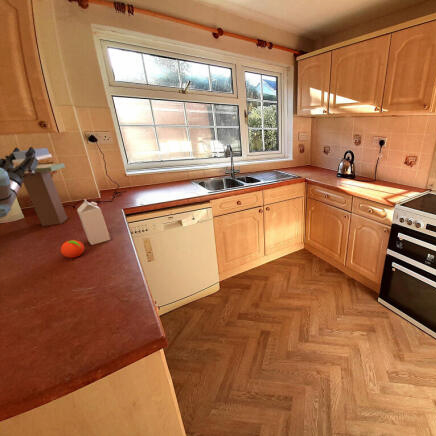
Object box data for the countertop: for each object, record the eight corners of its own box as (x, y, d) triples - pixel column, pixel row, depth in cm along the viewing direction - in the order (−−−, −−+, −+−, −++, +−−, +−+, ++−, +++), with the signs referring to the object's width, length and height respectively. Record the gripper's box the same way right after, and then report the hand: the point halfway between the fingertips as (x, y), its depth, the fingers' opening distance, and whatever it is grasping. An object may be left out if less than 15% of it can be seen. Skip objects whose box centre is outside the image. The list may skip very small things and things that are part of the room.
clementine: (93, 253, 99) (87, 237, 97) (76, 262, 93) (69, 245, 90) (77, 251, 101) (71, 236, 98) (59, 260, 95) (52, 243, 92)
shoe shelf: (71, 224, 128) (49, 167, 117) (22, 230, 122) (-6, 170, 111) (82, 215, 141) (63, 163, 130) (39, 220, 135) (15, 165, 124)
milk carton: (91, 245, 106) (76, 204, 99) (88, 240, 110) (73, 200, 103) (110, 240, 110) (97, 200, 103) (106, 235, 115) (94, 197, 108)
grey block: (26, 162, 106) (21, 152, 105) (13, 163, 105) (8, 153, 103) (52, 156, 125) (48, 147, 124) (41, 157, 124) (37, 148, 122)
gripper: (-15, 193, 97) (6, 157, 111) (40, 189, 103) (54, 155, 116) (-31, 179, 91) (-7, 143, 105) (28, 175, 97) (44, 141, 110)
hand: (25, 149), depth 110 cm, fingers closed on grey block, 4 cm apart
